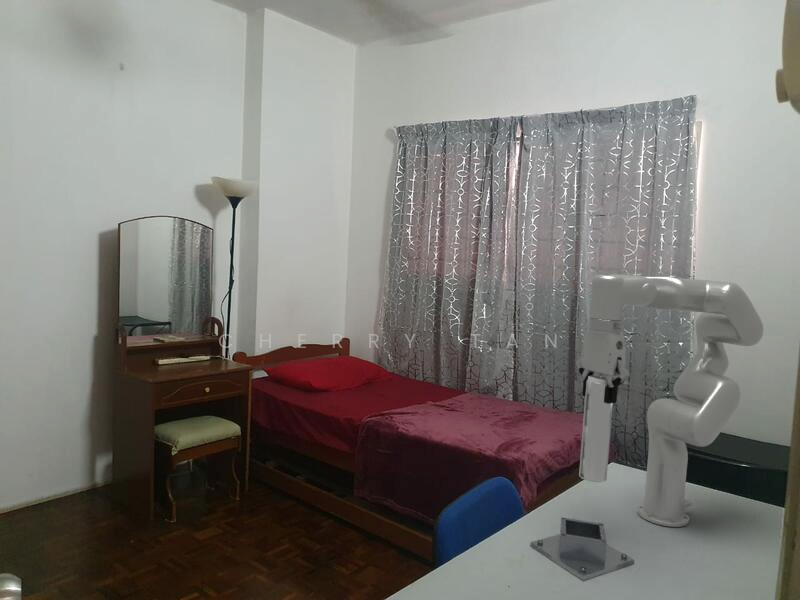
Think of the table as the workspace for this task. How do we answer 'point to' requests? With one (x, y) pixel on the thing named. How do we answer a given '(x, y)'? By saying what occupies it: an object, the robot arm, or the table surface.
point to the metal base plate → (582, 549)
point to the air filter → (595, 431)
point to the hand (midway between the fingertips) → (598, 398)
